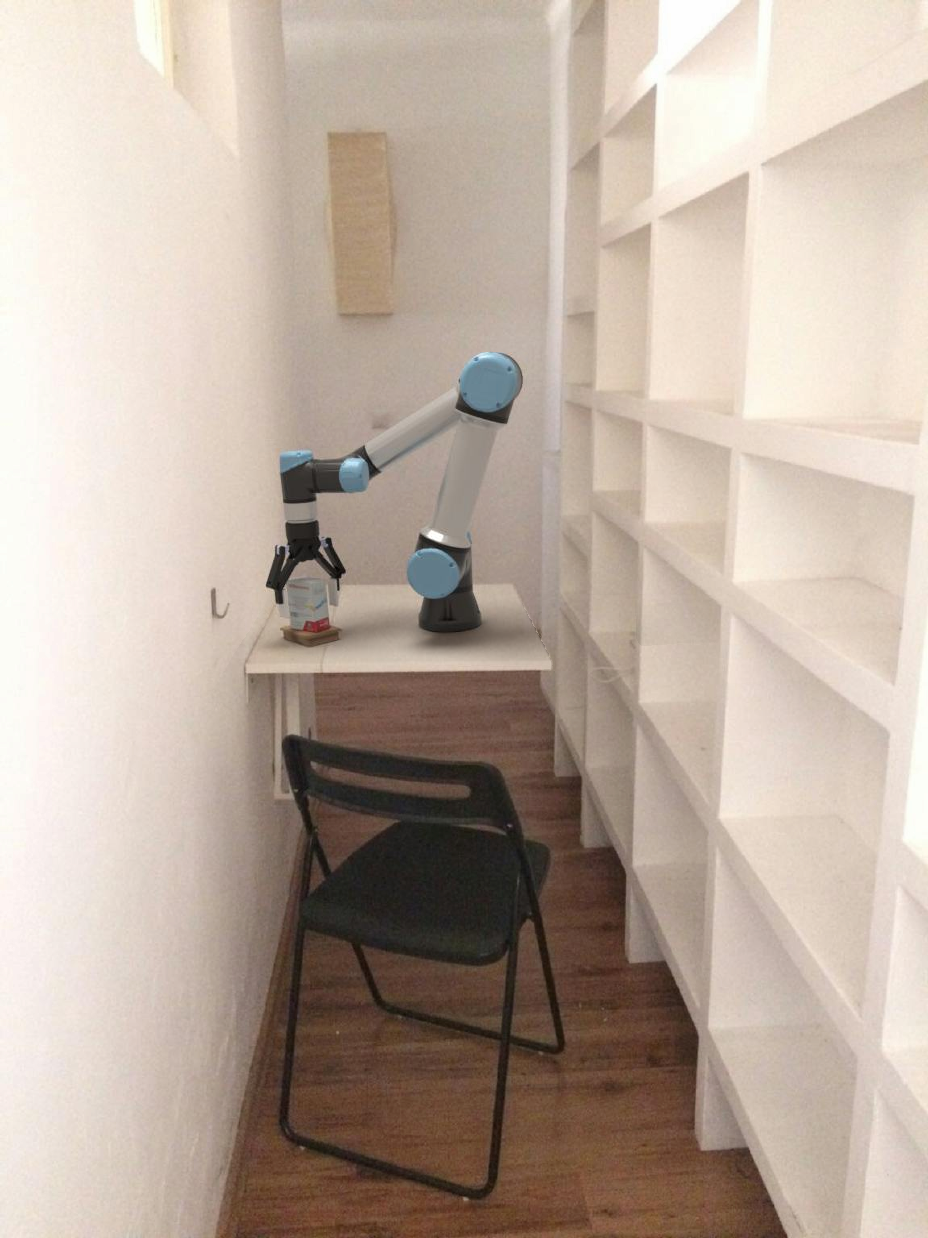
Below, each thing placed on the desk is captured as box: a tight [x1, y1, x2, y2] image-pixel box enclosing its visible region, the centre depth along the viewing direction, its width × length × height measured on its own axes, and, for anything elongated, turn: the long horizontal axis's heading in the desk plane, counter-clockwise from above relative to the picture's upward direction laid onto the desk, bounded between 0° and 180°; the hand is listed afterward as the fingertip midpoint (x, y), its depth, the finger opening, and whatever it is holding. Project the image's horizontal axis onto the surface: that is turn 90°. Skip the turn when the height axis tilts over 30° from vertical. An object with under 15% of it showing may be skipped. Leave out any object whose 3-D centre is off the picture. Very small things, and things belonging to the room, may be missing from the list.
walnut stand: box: [279, 624, 342, 648], centre depth 225 cm, size 12×9×2 cm
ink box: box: [285, 575, 331, 632], centre depth 223 cm, size 9×5×12 cm, turn 54°
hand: (309, 611), depth 224 cm, fingers open, 13 cm apart
